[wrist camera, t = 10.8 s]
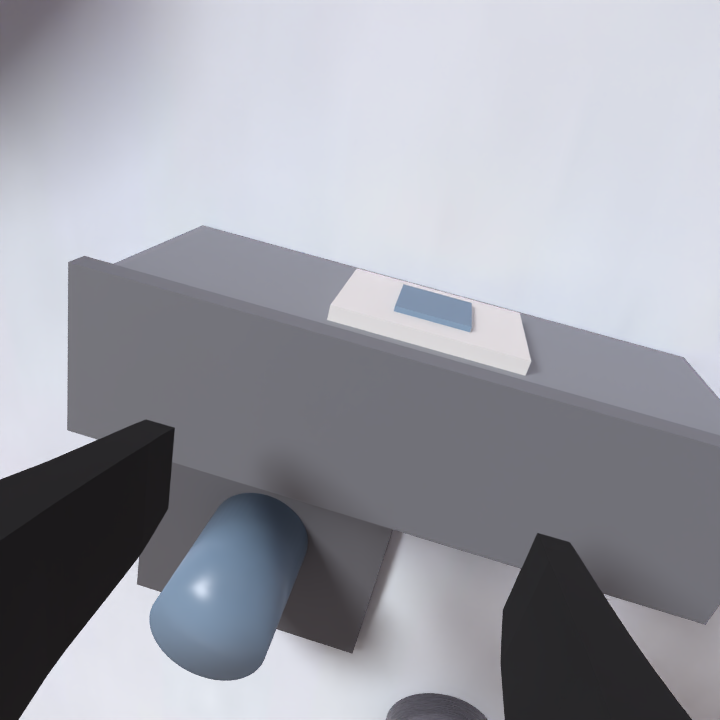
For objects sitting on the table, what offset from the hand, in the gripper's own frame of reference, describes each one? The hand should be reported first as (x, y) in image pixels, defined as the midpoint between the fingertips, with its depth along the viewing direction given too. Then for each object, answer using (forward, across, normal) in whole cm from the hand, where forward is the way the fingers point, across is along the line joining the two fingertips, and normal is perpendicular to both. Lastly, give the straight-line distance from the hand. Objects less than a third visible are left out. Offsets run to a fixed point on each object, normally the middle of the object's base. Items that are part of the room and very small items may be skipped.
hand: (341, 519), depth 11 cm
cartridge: (+9, +3, +9) cm, 13 cm away
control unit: (+9, -1, 0) cm, 9 cm away
